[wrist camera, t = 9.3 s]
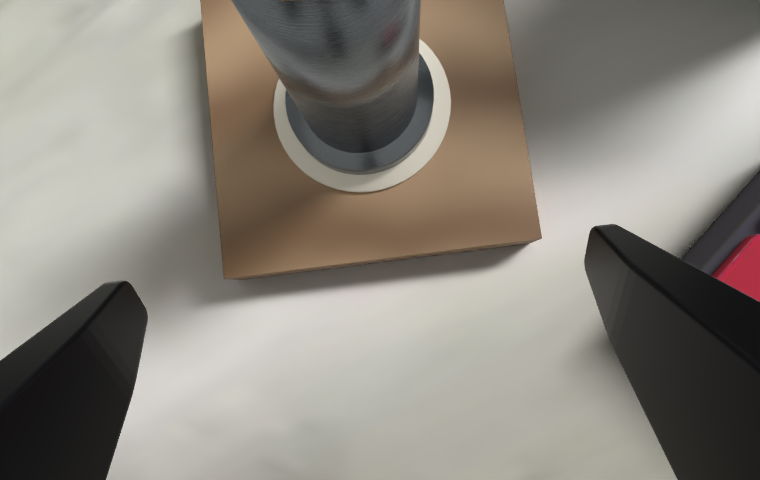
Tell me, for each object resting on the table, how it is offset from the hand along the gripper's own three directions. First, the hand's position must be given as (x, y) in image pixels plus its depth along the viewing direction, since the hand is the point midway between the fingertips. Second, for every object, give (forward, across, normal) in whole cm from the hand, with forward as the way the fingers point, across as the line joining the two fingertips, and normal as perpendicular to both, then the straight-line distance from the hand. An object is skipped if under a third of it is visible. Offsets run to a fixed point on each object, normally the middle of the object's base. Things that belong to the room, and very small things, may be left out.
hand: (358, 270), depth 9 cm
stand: (+15, 0, +4) cm, 16 cm away
